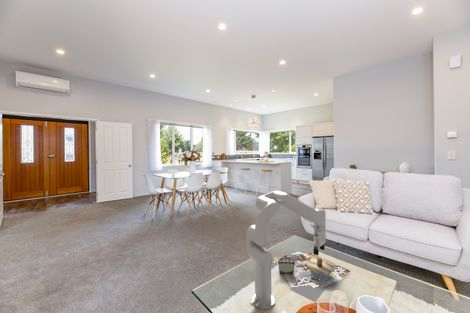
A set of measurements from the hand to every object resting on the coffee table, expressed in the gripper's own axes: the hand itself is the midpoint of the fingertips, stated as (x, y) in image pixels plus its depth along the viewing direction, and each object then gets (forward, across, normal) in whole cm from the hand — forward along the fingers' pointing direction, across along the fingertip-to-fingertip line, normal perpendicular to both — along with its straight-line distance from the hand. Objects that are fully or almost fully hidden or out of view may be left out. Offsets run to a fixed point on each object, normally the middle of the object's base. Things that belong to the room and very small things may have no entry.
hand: (319, 252), depth 143 cm
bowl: (+17, +1, 0) cm, 17 cm away
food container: (+18, -11, +19) cm, 28 cm away
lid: (+11, +1, 0) cm, 11 cm away
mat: (+18, -17, 0) cm, 24 cm away
